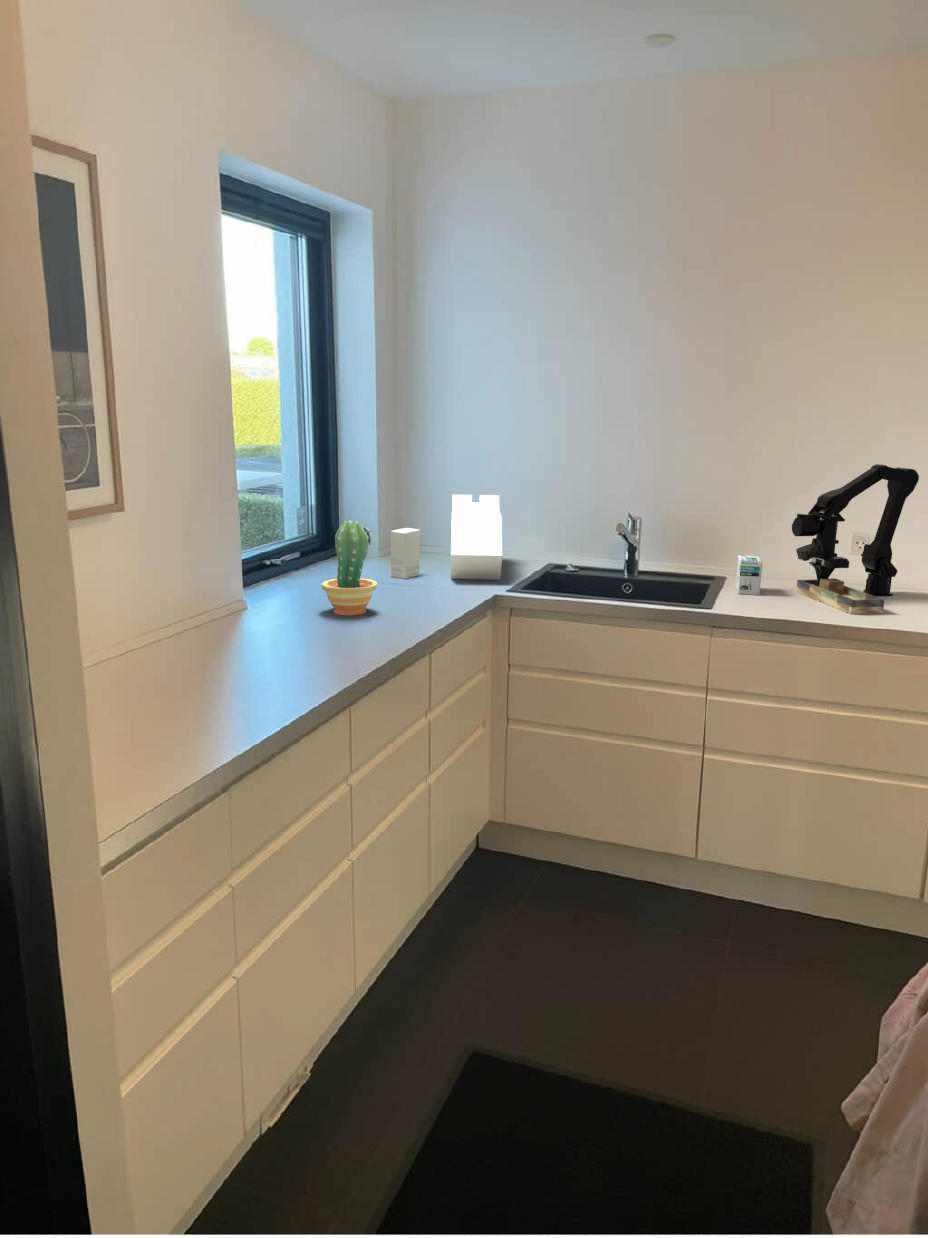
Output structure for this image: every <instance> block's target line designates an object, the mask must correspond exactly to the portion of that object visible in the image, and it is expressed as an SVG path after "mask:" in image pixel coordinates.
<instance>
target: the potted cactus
mask: <svg viewBox="0 0 928 1238" xmlns="http://www.w3.org/2000/svg"><path fill="white" fill-rule="evenodd" d="M372 539H373V535H372V533H371V530H370V528H368V527H367V526H365V525H364V524H361V523H360V521H357V520H356V521H354V522H353V521H352V520H348V521H343V522H342V524H341V525H340V527H339V528H338V529H337V531H336V533H335V535H334V543H335V544H334V545H335V553H336V557H337V575H336V578H331V579H328V580H325V581H323V582H322V583H321V588H322V590H323V591H324V593H325V594H326V597H327V599H328V602H329V603H330V604H331V606H332V607H333V609H334V610H333V613H335V614H337V615H339V616H341V615H343V616H357V615H363V614H365V613H367V609H366V608H367V606H368V605H369V603H370V601H371V598H372V596H373V593H374V591H376V590H377V586H378V582H377V581H375V580H373V579H370V578H369V579H367V578H361V576H362V571H363V566H364V562H365V560H366V557H367V556H368V553H369V551H368V549H369V546H372Z"/></svg>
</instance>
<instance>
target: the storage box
mask: <svg viewBox="0 0 928 1238" xmlns="http://www.w3.org/2000/svg"><path fill="white" fill-rule="evenodd" d="M451 497H452V501H451V503H452V504H451V505H452V506H451V509H452V510H451V533H450V534H451V535H450V537H451V538H450V539H451V540H450V580H501V574H502V563H503V524H502V523H503V520H502V517H503V516H502V514H501V511H500V495H499V494H498V495H497V494H496V495H495V494H488V495H487V494H480V495H479V501H478V502H476V501H472V500H473V494H452V496H451Z"/></svg>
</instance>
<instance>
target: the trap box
mask: <svg viewBox="0 0 928 1238" xmlns="http://www.w3.org/2000/svg"><path fill="white" fill-rule="evenodd" d="M796 592H798V593H797V594H799V593H800V594H799V595H801V594H803V595H802V596H804V595H805V596H804V597H806V596H807V598H809V599H812V600H813V601H816V600H819V601H821V602H823V603H822V604H824V603H825V604H824V605H826V604H828V605H827V606H829V605H830V607H831V606H832V607H831V608H835V609H836V608H837V610H839V611H841V610H843V611H842V612H844V611H846V612H848V613H847V614H849V613H850V614H849V615H874V614H879V613H881V614H883V613H884V607H885V600H886V599H884V598H881V597H879V596H874V595H871V594H868V593H865V592H863V591H861V590H858V589H855V588H853V587H849V586H847V585H844V589H843V595H840V594H837V593H834V592H832V591H829V590H826V589H823V588H821V587H819V585H818V580H817V579H797V580H796ZM796 592H795V593H796ZM819 601H818V602H819ZM821 602H820V603H821ZM846 612H845V613H846Z"/></svg>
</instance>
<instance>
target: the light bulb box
mask: <svg viewBox="0 0 928 1238" xmlns="http://www.w3.org/2000/svg"><path fill="white" fill-rule="evenodd" d="M762 569H763V560H762V559H761V558H760V556H759V555H758V556H757V555H745V554H744V555H743V554H738V555H737V567H736V578H735V579H736V580H735V589H736V592H737V594H738V595H749V596H750V595H751V596H753V595H754V596H760V594H761V593H760V592H761V583H762V582H761V581H762V572H763V570H762Z"/></svg>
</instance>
